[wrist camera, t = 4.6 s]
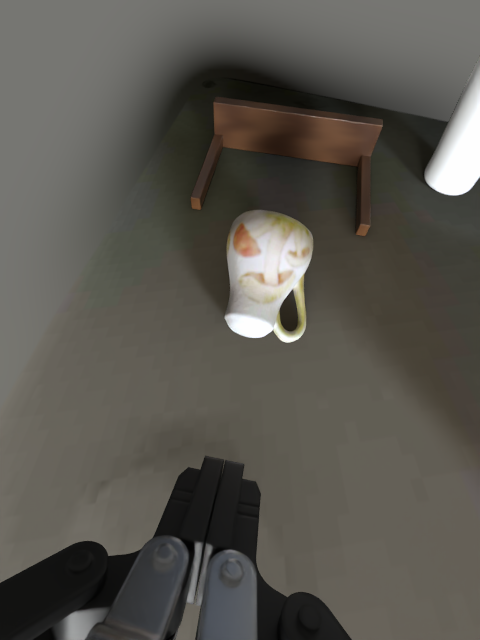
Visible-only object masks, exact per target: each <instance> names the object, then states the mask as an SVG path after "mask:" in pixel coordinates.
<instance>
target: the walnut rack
mask: <svg viewBox="0 0 480 640" xmlns="http://www.w3.org/2000/svg"><path fill="white" fill-rule="evenodd" d="M382 126H383V121H382V119H376V118H368V117H361V116H354V115H347V114H339V113H332V112H325V111H317V110H310V109H303V108H295V107H288V106H281V105H273V104H266V103H259V102H252V101H244V100H237V99H230V98H222V97H216V98H215V100H214V131H215V135H214V137H213V140H212V142H211V145H210V148H209V150H208V153H207V155H206V158H205V161H204V163H203V166H202V169H201V171H200V174H199V176H198V179H197V182H196V184H195V187H194V189H193V192H192V195H191V206H192V209H198V210H201V208H202V205H203V202H204V199H205V196H206V194H207V191H208V188H209V185H210V182H211V179H212V177H213V174H214V171H215V168H216V165H217V162H218V159H219V157H220V154H221V151H222V148H223V147H227V148H234V149H241V150H247V151H254V152H261V153H268V154H275V155H281V156H288V157H295V158H302V159H309V160H316V161H322V162H329V163H336V164H343V165H350V166H356V167H358V172H357V205H356V235H361V236H365V235H366V234H367V231H368V229H369V227H370V157H371V154H372V152H373V149H374V146H375V144H376V141H377V139H378V136H379V134H380V131H381V129H382Z"/></svg>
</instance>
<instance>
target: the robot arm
mask: <svg viewBox="0 0 480 640" xmlns="http://www.w3.org/2000/svg"><path fill="white" fill-rule="evenodd" d="M223 464H224V460H223V459H218V458H213V457H209V456H205V458H204V461H203V464H202V467H201V470H199V469H194V468H189V467H188V468H187V469H186V470H185V471H184V472H182V473H181V474H180V475H179V476H178V479H177V481H176V484H175V486H174V489H173V491H172V494H171V496H170V499H169V501H168V503H167V506H166V508H165V511H164V513H163V515H162V518H161V520H160V523H159V525H158V528H157V530H156V532H155V535H154V537H153V538H152V539H151V540H149V541H148V542H147V543H146V544H145V545H144V546H143V548H142V549H140V550H139V551H136V552H134V553H131V554H125V555H115V556H108V554H107V551H106V549H105V548H104V547H103V546H102V545H101V544H99V543H96V542H93V541H83V542H78V543H75V544H73V545H71V546H69V547H67V548H65V549H63V550H61V551H59V552H57V553H56V554H54V555H52V556H50V557H48V558H46V559H44V560H42V561H41V562H39V563H37V564H35V565H33V566H31V567H29V568H28V569H26V570H24V571H22V572H20V573H18V574H16V575H14V576H13V577H11V578H9V579H7V580H5V581H3V582H1V583H0V640H175V639H176V636H177V632H178V628H179V626H180V624H181V621H182V617H183V613H184V609H185V605H186V603H190V604H194V599H195V595H196V591H197V586H198V582H199V587H198V593H197V599H196V605H199V606H201V609H200V614H199V620H198V626H197V632H196V638H195V640H351V638H350V637H349V635H348V634H347V633H346V631H345V630H344V629H343V627H342V626H341V625H340V623H339V622H338V621H337V619H336V618H335V616H334V615H333V614H332V612H331V611H330V610H329V608H328V607H327V606H326V605H325V604H324V603H323V602H322V601H321V600H320V599H319V598H317V597H316V596H314V595H312V594H309V593H305V592H297V593H294V594H291V595H290V596H289V597H288V598H287V597H286V596H284V595H283V594H281V593H279V592H278V591H276V590H274V589H273V588H272V587H270V586H269V585H268V584H267V583H266V582H265V581H264V580H263V578H262V577H261V575H260V573H259V571H258V568H257V564H256V551H257V537H258V523H259V510H260V508H259V507H260V496H261V493H260V491H259V488H258V486H257V483H256V482H255V481H250V480H246V479H242V476H243V469H244V464H242V463H237V462H233V461H228V460H225V464H224V469H223ZM222 470H223V473H222ZM221 476H222V477H221ZM200 573H201V575H200ZM199 578H200V581H199Z"/></svg>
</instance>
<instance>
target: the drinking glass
mask: <svg viewBox="0 0 480 640" xmlns="http://www.w3.org/2000/svg"><path fill="white" fill-rule="evenodd" d="M479 177H480V56H479V58H478V60H477V62H476V64H475V66H474V68H473V70H472V72H471V74H470V76H469V78H468V81H467V83H466V85H465V87H464V89H463V91H462V94H461V96H460V98H459V100H458V102H457V104H456V107H455V109H454V111H453V113H452V116H451V117H450V120H449V122H448V124H447V126H446V128H445V130H444V133H443V135H442V137H441V139H440V141H439V143H438V145H437V147H436V150H435V152H434V154H433V156H432V158H431V159H430V161H429V163H428V165H427V166H426V168H425V171H424V178H425V181H426V182H427V184H428V185H429V186H430V187H431V188H433V189H434V190H436V191H438V192H440V193H443V194H446V195H460V194H464V193H466V192H467V191H469V190H470V189H471V188H472V187H473V185H474V184H475V183H476V181H477V180H478V179H479Z"/></svg>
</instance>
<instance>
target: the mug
mask: <svg viewBox="0 0 480 640" xmlns="http://www.w3.org/2000/svg"><path fill="white" fill-rule="evenodd" d="M312 251H313V237H312V234H311V233H310V231H309V230H308V229H307V228H306V227H305V226H304V225H303V224H301V223H300V222H299V221H297V220H295V219H293V218H291V217H289V216H287V215H284V214H281V213H277V212H272V211H266V210H251V211H247V212H244V213H242V214H241V215H240V216H238V217H237V218H236V219H235V221H234V222H233V224H232V226H231V229H230V232H229V235H228V238H227V262H228V270H229V278H230V297H229V302H228V306H227V309H226V313H225V320H226V321H227V324H228V326H229V327H230V328H231V330H233V331H234V332H236V333H238V334H240V335H243V336H246V337H250V338H258V337H263V336H265V335H267V334H268V333H270V332H271V331H272V330H273V331H274V333H275V334H276V335H277V337H278V338H279V339H280V340H281V341H284V342H287V343H289V342H293V341H295V340H297V339H299V338H300V337H301V336H302V334H303V333H304V331H305V328H306V309H305V301H304V273H305V271H306V269H307V267H308V265H309V263H310V260H311V257H312ZM292 289H293V291H294V296H295V301H296V306H297V312H298V324H297V328H296V329H295V330H294V331H287V330H285V329H284V328H283V326H282V325H281V322H280V313H279V309H280V306H281V304H282V302H283V301H284V299H285V298H286V297H287V295H288V294H289V293H290V292H291V290H292Z"/></svg>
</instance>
